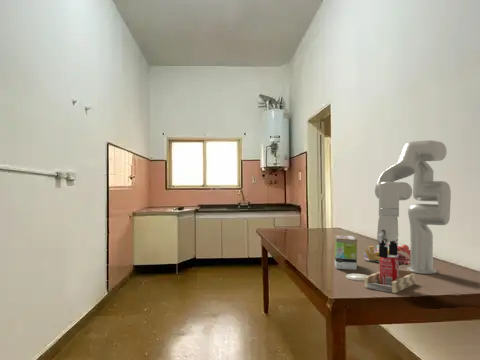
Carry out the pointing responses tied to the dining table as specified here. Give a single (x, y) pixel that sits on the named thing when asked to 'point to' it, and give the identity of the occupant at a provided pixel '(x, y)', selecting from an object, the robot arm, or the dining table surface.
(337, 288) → the dining table surface
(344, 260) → the tea box
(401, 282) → the light wood rectangular frame
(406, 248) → the candy platter
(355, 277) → the coaster
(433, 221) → the robot arm
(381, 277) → the soda can
